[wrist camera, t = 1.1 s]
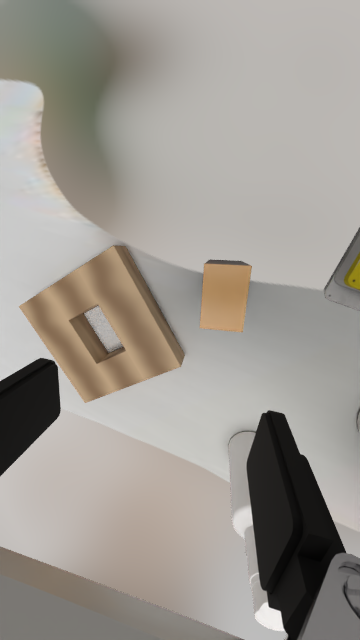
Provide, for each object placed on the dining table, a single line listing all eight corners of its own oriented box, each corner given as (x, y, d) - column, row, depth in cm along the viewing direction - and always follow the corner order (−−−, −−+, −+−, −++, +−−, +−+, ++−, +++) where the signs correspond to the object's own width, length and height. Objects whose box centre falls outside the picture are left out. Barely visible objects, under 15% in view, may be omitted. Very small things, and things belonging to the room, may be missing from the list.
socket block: (125, 246, 29) (113, 245, 26) (184, 355, 33) (180, 366, 29) (37, 301, 35) (18, 306, 31) (96, 389, 38) (85, 403, 35)
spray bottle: (233, 462, 37) (243, 635, 21) (224, 432, 36) (228, 592, 19) (273, 461, 36) (321, 648, 19) (266, 428, 34) (312, 601, 17)
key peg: (241, 261, 27) (251, 266, 18) (235, 306, 29) (242, 332, 20) (209, 259, 28) (204, 263, 18) (206, 304, 30) (199, 328, 20)
